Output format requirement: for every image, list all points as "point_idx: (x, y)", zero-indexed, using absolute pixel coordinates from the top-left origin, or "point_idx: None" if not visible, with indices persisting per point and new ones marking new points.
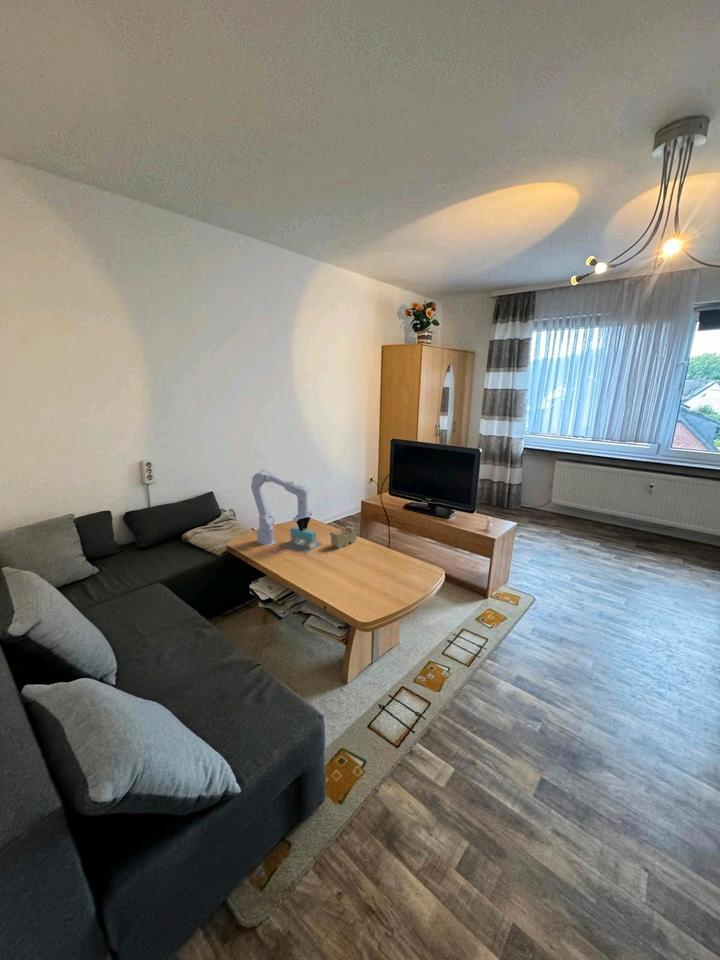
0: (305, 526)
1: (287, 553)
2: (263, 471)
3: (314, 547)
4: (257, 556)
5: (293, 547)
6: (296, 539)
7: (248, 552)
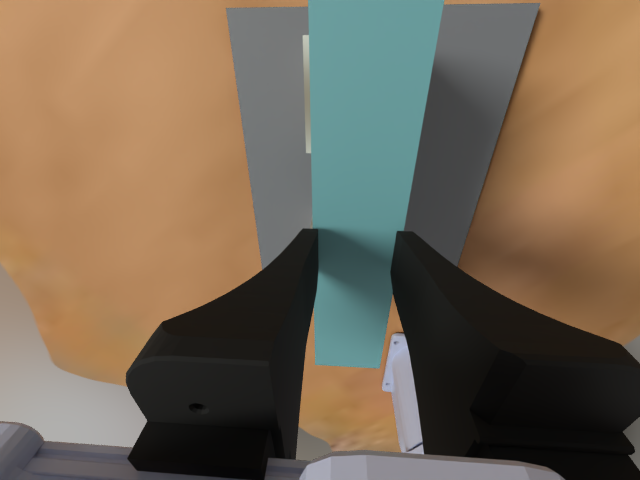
0: (313, 261)
1: (547, 182)
2: None
3: None
4: (635, 309)
5: (443, 203)
6: None
7: None
